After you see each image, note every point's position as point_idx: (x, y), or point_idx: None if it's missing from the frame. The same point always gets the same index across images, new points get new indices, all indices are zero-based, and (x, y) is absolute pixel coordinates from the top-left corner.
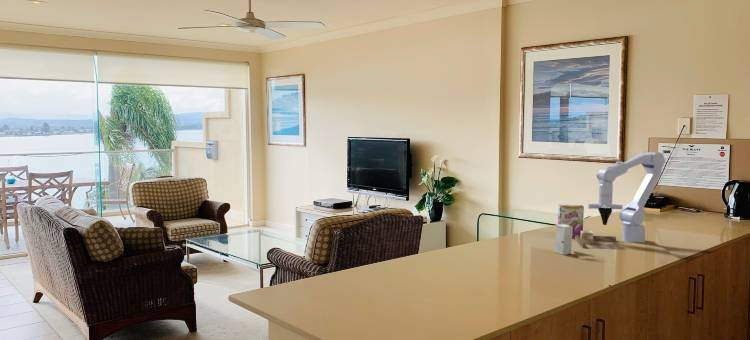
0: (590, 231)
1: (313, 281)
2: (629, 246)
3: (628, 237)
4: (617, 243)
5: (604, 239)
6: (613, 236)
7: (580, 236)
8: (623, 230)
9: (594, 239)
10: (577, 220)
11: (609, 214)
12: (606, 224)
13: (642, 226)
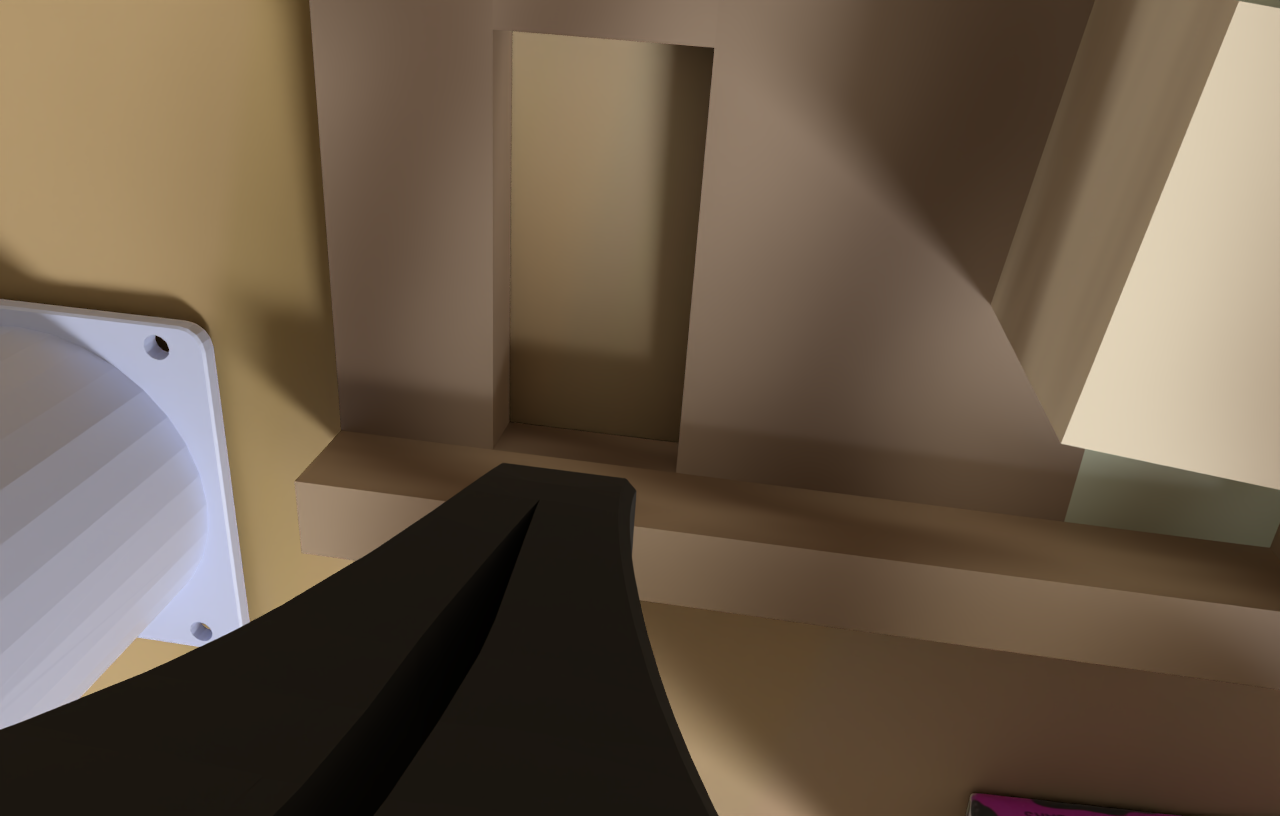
0: (1161, 385)
1: None
2: (108, 132)
3: (7, 415)
4: (351, 155)
5: None
6: (350, 535)
7: (1234, 593)
8: (14, 630)
9: (839, 507)
10: None
11: (27, 748)
12: (497, 468)
13: None
